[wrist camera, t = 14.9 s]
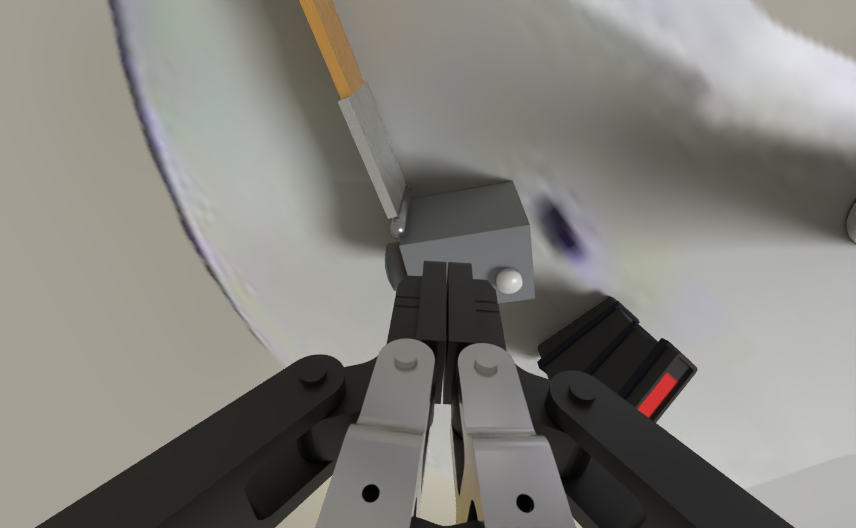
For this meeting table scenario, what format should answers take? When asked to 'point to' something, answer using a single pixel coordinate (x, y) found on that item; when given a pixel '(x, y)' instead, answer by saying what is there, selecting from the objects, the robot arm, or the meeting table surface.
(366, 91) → the orange and gray panel
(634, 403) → the black ribbed block
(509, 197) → the grey box with knob
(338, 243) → the meeting table surface
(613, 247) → the meeting table surface
